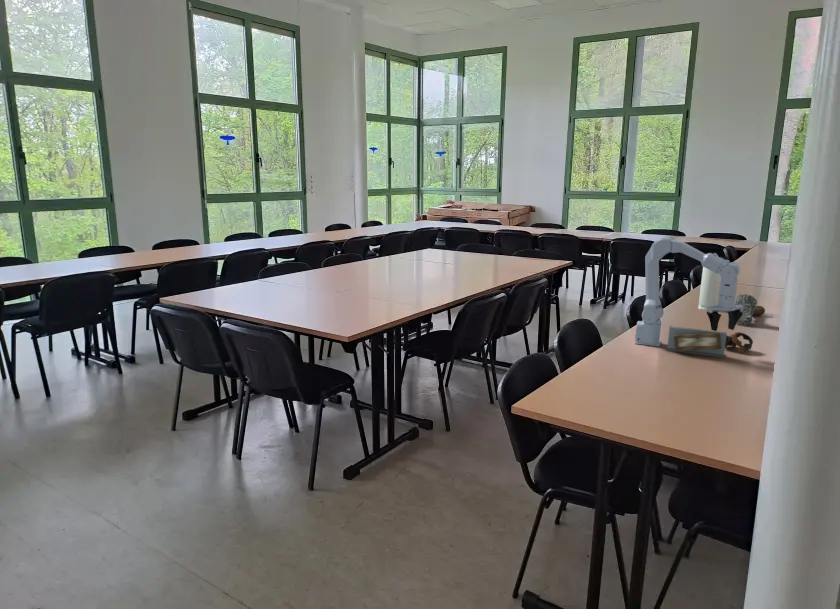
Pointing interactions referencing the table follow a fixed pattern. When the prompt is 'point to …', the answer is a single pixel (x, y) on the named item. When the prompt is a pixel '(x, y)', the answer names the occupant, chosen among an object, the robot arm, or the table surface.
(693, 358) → the table surface
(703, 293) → the bottle
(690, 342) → the brown rectangular panel
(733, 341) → the pottery mug
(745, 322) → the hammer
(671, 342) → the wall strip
